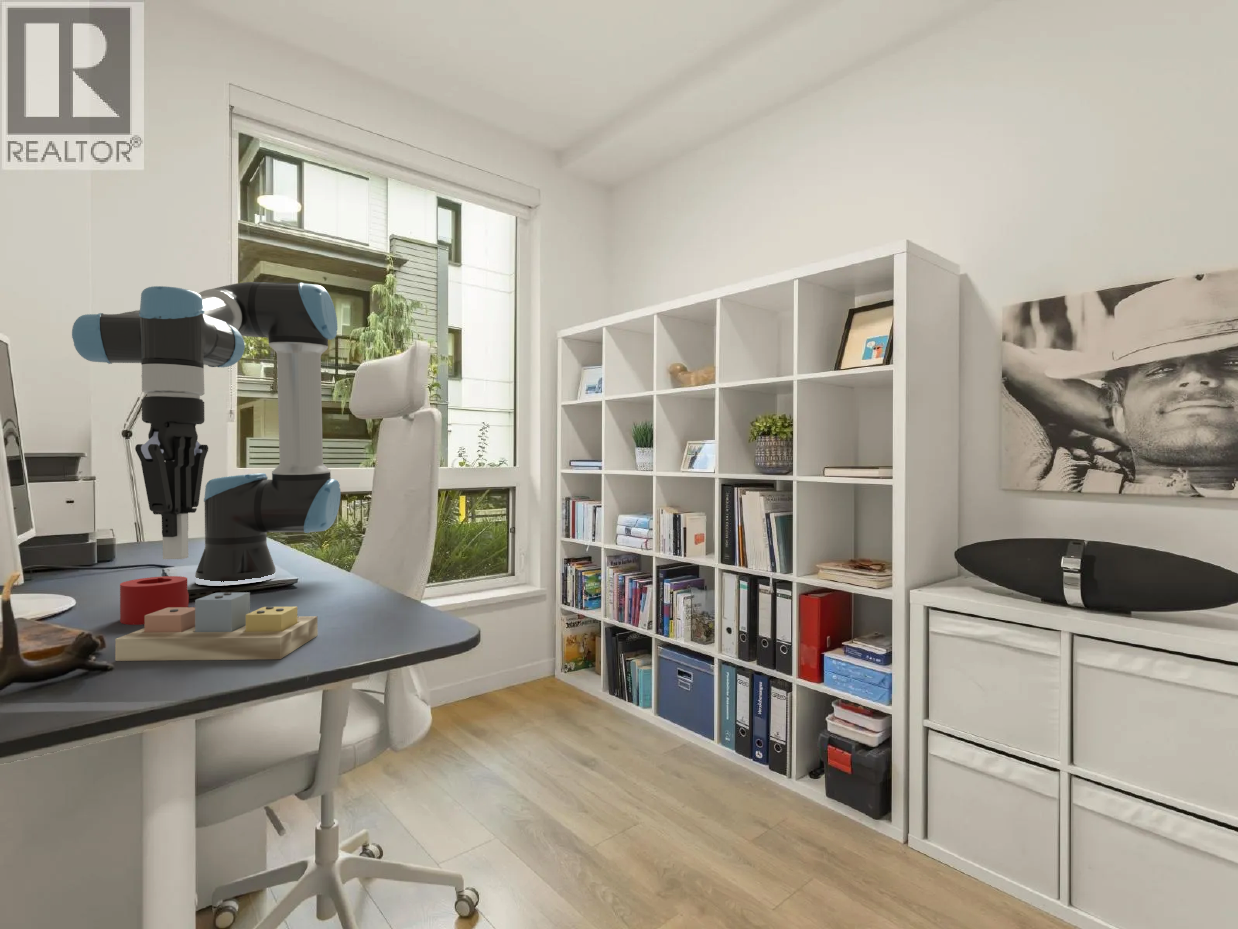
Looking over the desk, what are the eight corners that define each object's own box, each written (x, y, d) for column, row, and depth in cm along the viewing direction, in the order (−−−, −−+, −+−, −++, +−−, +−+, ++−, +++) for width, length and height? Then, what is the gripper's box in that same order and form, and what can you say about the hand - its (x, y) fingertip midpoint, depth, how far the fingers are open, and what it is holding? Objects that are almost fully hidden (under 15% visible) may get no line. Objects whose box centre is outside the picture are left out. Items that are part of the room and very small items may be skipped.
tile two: (215, 626, 97) (215, 591, 97) (249, 625, 97) (249, 591, 97) (195, 635, 92) (195, 598, 92) (231, 634, 92) (231, 598, 92)
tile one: (167, 640, 96) (167, 606, 96) (202, 640, 97) (202, 605, 96) (144, 650, 91) (144, 614, 91) (180, 650, 92) (180, 613, 92)
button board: (172, 636, 100) (172, 617, 100) (317, 635, 101) (317, 616, 101) (115, 660, 88) (115, 638, 88) (280, 659, 89) (280, 637, 89)
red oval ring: (176, 624, 108) (176, 584, 108) (110, 628, 105) (109, 588, 105) (208, 601, 125) (208, 567, 125) (152, 604, 123) (151, 570, 123)
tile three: (263, 640, 97) (263, 605, 97) (297, 639, 97) (297, 605, 97) (245, 649, 92) (245, 613, 92) (281, 649, 92) (281, 613, 92)
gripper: (175, 399, 100) (177, 551, 101) (113, 392, 87) (116, 566, 88) (225, 400, 100) (227, 551, 101) (170, 393, 87) (173, 566, 88)
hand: (175, 558), depth 94 cm, fingers closed
